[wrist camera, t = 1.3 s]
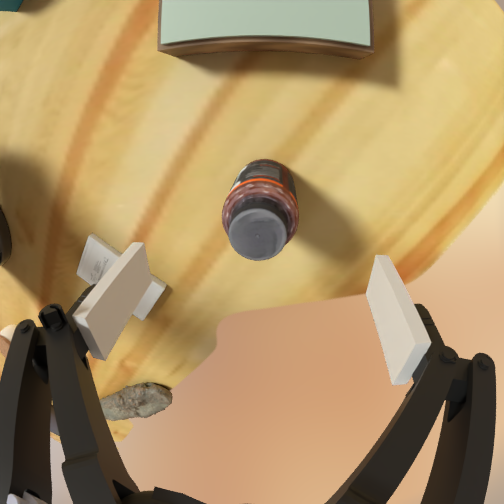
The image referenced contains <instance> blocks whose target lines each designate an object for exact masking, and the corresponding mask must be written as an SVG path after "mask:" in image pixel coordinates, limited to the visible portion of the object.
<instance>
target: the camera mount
mask: <svg viewBox="0 0 504 504" xmlns="http://www.w3.org/2000/svg"><path fill="white" fill-rule="evenodd" d="M22 2H23V0H0V11H11V12H17V10H18V8H19V7H20V5H21V3H22Z"/></svg>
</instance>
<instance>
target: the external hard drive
mask: <svg viewBox="0 0 504 504" xmlns="http://www.w3.org/2000/svg"><path fill="white" fill-rule="evenodd" d="M121 255H122V253H120V252H119V251H117V250H116V249H115V248H113V247H112V246H110V245H109V244H108V243H106V242H105V241H103V240H102V239H101V238H99V237H98V236H97V235H95V234H94V233H92V234H90V235H89V237H88V239H87V242H86V245H85V248H84V251H83V254H82V257H81V260H80V263H79V266H78V269H77V273H76V274H77V275H78V276H79V277H81V278H82V279H83V280H85V281H86V282H87V283H89V284H90V285H93V284H97V283H98V282H99V281H100V280H101V279H102V277H103V276H104V275H105V274H106V273H107V271H108V270H109V269H110V268H111V267H112V265H113V264H114V263H115V262H116V261H117V260H118V259H119V257H120V256H121ZM150 274H151V273H150ZM151 279H152V283H151V284H150V286H149V287H148V289H147V291H146V292H145V294H144V295H143V297H142V299H141V300H140V302H139V304H138V305H137V307H136V309H135V310H134V312H133V315H134V316H136V317H137V318H139V319H140V320H142V321H143V320H144V319H145V318H146V316H147V315H148V313H149V312H150V310H151V309H152V307H153V306H154V304H155V303H156V301H157V300H158V298H159V297H160V295H161V294H162V292H163V291H164V290H165V288H166V286H167V284H166V283H164V282H163V281H161V280H160V279H158V278H157V277H155V276H154V275H152V274H151Z"/></svg>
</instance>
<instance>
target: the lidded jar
mask: <svg viewBox="0 0 504 504" xmlns="http://www.w3.org/2000/svg"><path fill="white" fill-rule="evenodd" d="M17 325H18V324H10V325H8V326H6V327H5V328H3V329H2V330H1V332H0V352H1V353H2V354H3V355H4V357H5V359H6V357H7V353H8V350H9V346H10V343H11V340H12V337H13V334H14V331H15V328H16V326H17Z"/></svg>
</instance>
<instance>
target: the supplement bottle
mask: <svg viewBox="0 0 504 504" xmlns="http://www.w3.org/2000/svg"><path fill="white" fill-rule="evenodd" d="M298 221H299V211H298V204H297V198H296V192H295V186H294V181H293V179H292V176H291V174H290V173H289V171H288V170H287V169H286V168H285V167H284V166H283V165H282V164H280V163H278V162H276V161H273V160H269V159H260V160H255V161H253V162H251V163H249V164H247V165H246V166H245V167H244V168H243V169H242V170H241V171H240V173H239V174H238V176H237V178H236V180H235V182H234V184H233V186H232V188H231V190H230V192H229V194H228V196H227V198H226V201H225V203H224V206H223V210H222V223H223V227H224V229H225V231H226V233H227V235H228V237H229V240H230V243H231V245H232V247H233V248H234V250H235V251H236V252H237V253H238V254H240V255H241V256H243V257H245V258H247V259H250V260H255V261H256V260H257V261H259V260H266V259H270V258H272V257H274V256H276V255H277V254H278V253H279V252H280V251H281V250H282V249H283V247H284V246H285V245H286V244H287V243H288V242H289V241H290V240H291V239H292V237H293V236H294V234H295V232H296V230H297V226H298Z"/></svg>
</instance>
